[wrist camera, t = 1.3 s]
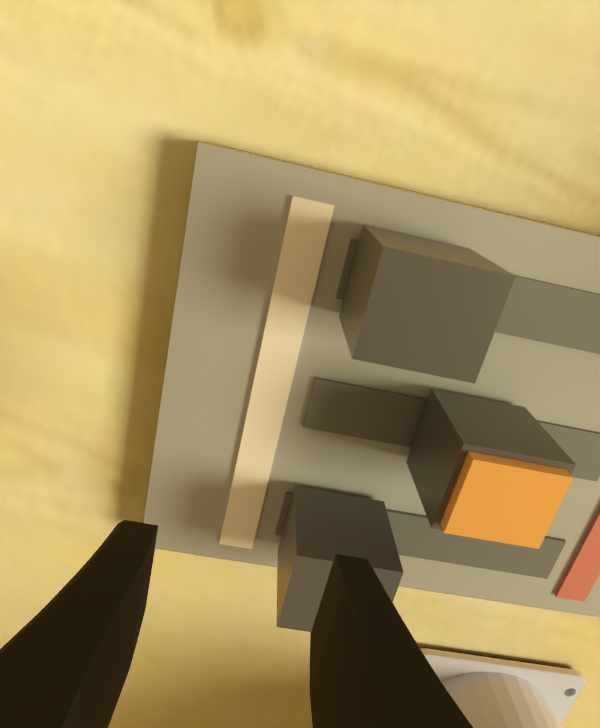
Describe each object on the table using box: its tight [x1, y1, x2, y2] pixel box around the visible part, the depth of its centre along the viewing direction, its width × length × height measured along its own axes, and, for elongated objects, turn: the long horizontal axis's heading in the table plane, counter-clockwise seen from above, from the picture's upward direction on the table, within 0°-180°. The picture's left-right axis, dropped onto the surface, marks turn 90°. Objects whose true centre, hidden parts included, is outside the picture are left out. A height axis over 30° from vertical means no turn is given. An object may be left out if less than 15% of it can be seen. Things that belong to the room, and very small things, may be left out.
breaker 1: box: [277, 486, 404, 632], centre depth 18 cm, size 3×3×3 cm
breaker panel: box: [143, 142, 600, 617], centre depth 19 cm, size 14×20×1 cm
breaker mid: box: [406, 389, 576, 549], centre depth 16 cm, size 3×3×4 cm
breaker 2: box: [339, 224, 516, 384], centre depth 15 cm, size 3×3×3 cm
